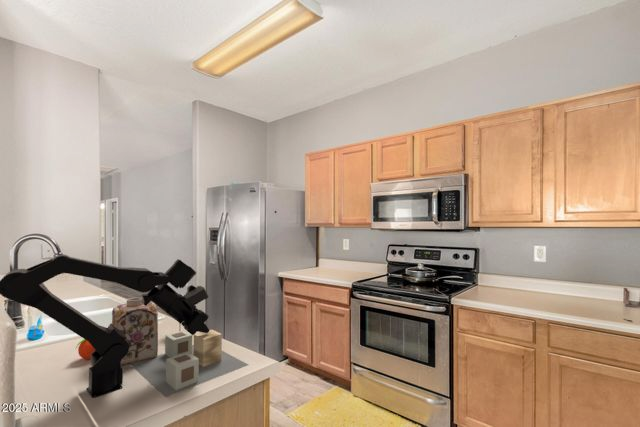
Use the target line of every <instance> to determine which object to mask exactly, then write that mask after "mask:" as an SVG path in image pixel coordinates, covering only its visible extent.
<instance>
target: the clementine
mask: <svg viewBox="0 0 640 427" xmlns="http://www.w3.org/2000/svg"><path fill="white" fill-rule="evenodd" d="M75 349H77V351H78V355H79V357H81V358H82V359H83V360H86V361H87V360H89V361H91V358H90V355H91V354H92V353H93V352H94V351H95V349H94V348H93V346H92V345H91V344H90V343H89V342H88V341H87V340H85V339H84V338H82V340H80V341H79V343H77V345H76V347H75Z"/></svg>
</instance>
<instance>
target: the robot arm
mask: <svg viewBox="0 0 640 427" xmlns="http://www.w3.org/2000/svg"><path fill="white" fill-rule="evenodd" d="M60 274H69V275H74V276H80V277H85V278H90V279H94V280H95V279H97V280H101V281H107V282H111V283H116V284H120V285H122V286H124V287H126V288H129V289H131V290H134V291H136V292H139V293H143V294H141V297H142V303H143V304H144V305H145V306H146V305H147V304H148V303H149V302H153V303H155V304H156V307H159V308H160V309H161V310H163V312H165V313H166V314H167V315H169V316H171V318H172V319H173V320H175V321H176V322H177V323H180V324H181V325H182V327H183V329H185V330H184V331H186V332H187V333H189V334H191V335H192V336H194V334H197V333H201V332H203V333H208V332H209V330H210V329H209V327H208V326H207V325H206V322H207V320H208V319H209V315H208V314H207V313H206V312H204V311H203V310H202V309H198V308H197V305H198V304H200V303H201V302H203V301H204V300H207V299H208V298H209V294H208V292H207V291H206V288H205V287H203V286H201V285H197V286H194V285H193V284H190V285H189V286H187V285H188V283H189V282H190V281H191V280H192V279H193V278H194V277H195V276H196V274H197V272H196V271H195V269H193V268H192V266H189V265H188V264H186V263H185V262H183V261H182V260H181V259H175V261H174V263H173V264H172V265H171V266H170V267H169V268H168V269H167V270H166V272H163V271H162V272H161V271H159V272H158V271H156V272H155V271H151V270H149V269H148V268H146V267H145V268H144V267H123V266H122V267H119V266H116V265H115V266H113V265H109V264H105V263H100V262H95V261H91V260H87V259H81V258H77V257H73V256H69V255H67V254H59V255H55V256H54V257H53V258H51V259H49V260H45V261H43V262H40V263H38V264H35V265H33V266H31V267H27V268H16V269H13V270H10V271H8V272H6V274H5V275H4V276H3V277H2V278H1V279H0V296H2V297H4V298H5V299H7V300H10V301H13V302H16V303H17V304H21V305H24V306H27V307H31V308H34V309H37V310H38V311H39V312H41V313H43V314H44V315H46V316H48V317H49V318H51V319H52V320H54V321H55V322H57V323H59V324H61V325H62V326H63V327H65V328H66V329H67V330H70V331H71V332H73V333H74V334H76V335H77V336H79V337H80V338H82V339H85V340H87V341H88V342H89V343H90V344H91V345H92V346H93V348H94V349H95V351H94V352H93V353H92V354H91V355H90V358H91V360H90V361H91V366H89V367H88V387H86V389H85V390H86V392H88V394H89V395H90V397H91V398H92V399H95V398H98V397H101V396H104V395H107V394H109V393H113V392H116V391H118V390H121V389H123V386H122V385H123V383H124V382H123V380H124V378H123V376H124V368H123V367H122V365H121V363H120V362H121V360H122V359H123V358H124V357H125V356H126V355H127V353H128V351H129V344H128V342H127V340H126V339H127V337H126V335H125V334H124V332H123V331H122V330H118V329H117V328H116V327H115V326H114V325H113V324H112V322H111V323H110V324H109V325H108V326H107V327H106V326H103V325H100V324H98V323H96V322H95V321H93V320H92V319H91V318H89V317H87V316H86V315H84V314H83V313H82V312H80V311H79V310H77V309H76V308H74V307H73V306H71V305H70V304H68V303H67V302H65V301H64V300H62V299H61V298H59V297H58V296H56V295H55V294H54V293H52V292H51V291H50V290H49V289H48V287H47V286H46V285H45V284H44V283H45V282H48V281H49V280H51V279H53V278H55V277H57V276H59V275H60ZM168 284H170V285H171V286H172V287H173V288H174V289H173V288H172V287H171V286H170V285H168ZM186 286H187V290H186V292H185V294H184V295H183V294H181V293H178V292H177V291H176V290H178V289H184V287H186ZM175 289H176V290H175ZM182 295H183V296H182Z"/></svg>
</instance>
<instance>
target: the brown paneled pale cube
mask: <svg viewBox="0 0 640 427" xmlns="http://www.w3.org/2000/svg"><path fill="white" fill-rule="evenodd" d="M164 338H165V339H164V354H166V355H167V356H168V357H170V358H172V357H175V356H178V355H181V354H185V353H188V352H189V353H190V354H192V345H193V335H192V334H190V333H189V332H188V331H187V330H181V331H180V332H179V331H177V332H173V333H169V334H166V335H165V337H164Z"/></svg>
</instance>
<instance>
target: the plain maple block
mask: <svg viewBox="0 0 640 427" xmlns="http://www.w3.org/2000/svg"><path fill="white" fill-rule="evenodd" d="M222 341H223V334H222V333H221V332H218V331H216V330H213V329H209V332H208V333H203V332H196V333H195V334H194V335H193V345H194V353H193V356H195V357H197V358H198V359H199V365H201V366H203V367H204V366H207V365H210V364H212V363H215V362H218V361H221V356H222V351H223V350H222V347H223V346H222V344H223V343H222Z"/></svg>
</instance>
